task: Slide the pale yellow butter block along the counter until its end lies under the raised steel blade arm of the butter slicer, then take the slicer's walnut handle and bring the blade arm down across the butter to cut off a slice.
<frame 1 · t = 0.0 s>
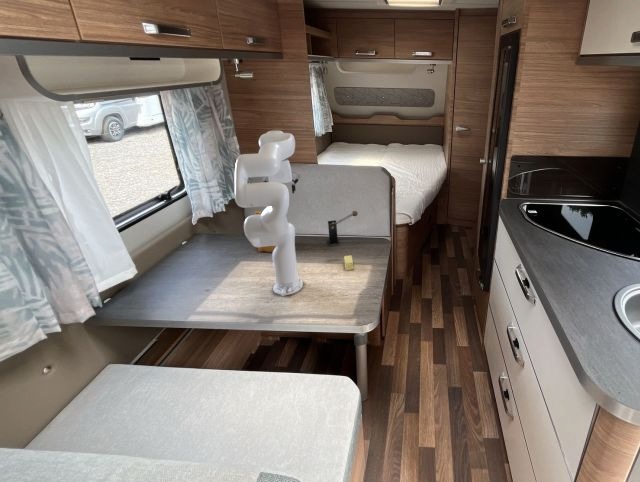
hand: (282, 193, 160), 37 cm above the table, tool pointing down, fingers open, 9 cm apart
butter: (348, 266, 168), on the table
slicer: (333, 242, 191), on the table
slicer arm: (343, 219, 188), point 14 cm above the table, hinge at 25.0°
coffee package: (270, 248, 184), on the table
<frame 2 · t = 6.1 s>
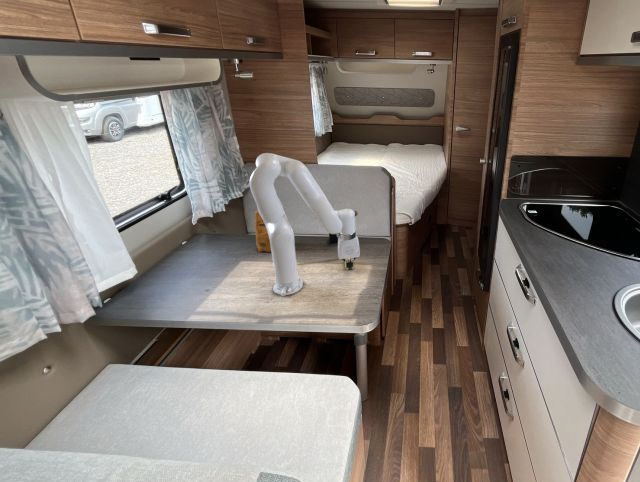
hand: (349, 268, 164), 1 cm above the table, tool pointing down, fingers closed
butter: (348, 265, 169), on the table, touching gripper
everything else where it was.
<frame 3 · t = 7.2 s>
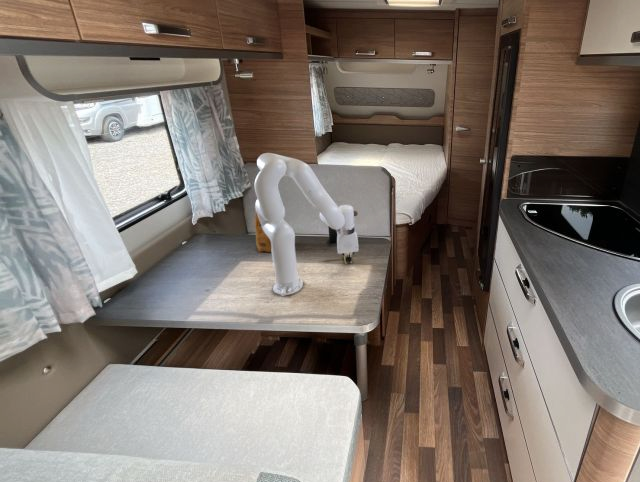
hand: (348, 262, 169), 1 cm above the table, tool pointing down, fingers closed
butter: (348, 260, 174), on the table, touching gripper
everything else where it was.
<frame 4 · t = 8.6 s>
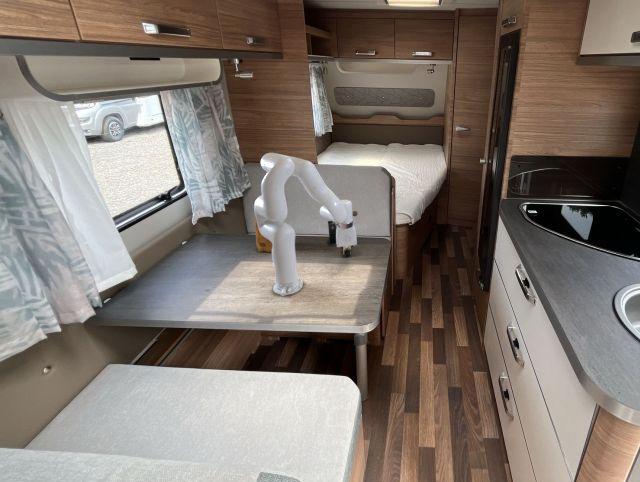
hand: (347, 255, 175), 1 cm above the table, tool pointing down, fingers closed
butter: (346, 253, 180), on the table, touching gripper
everything else where it was.
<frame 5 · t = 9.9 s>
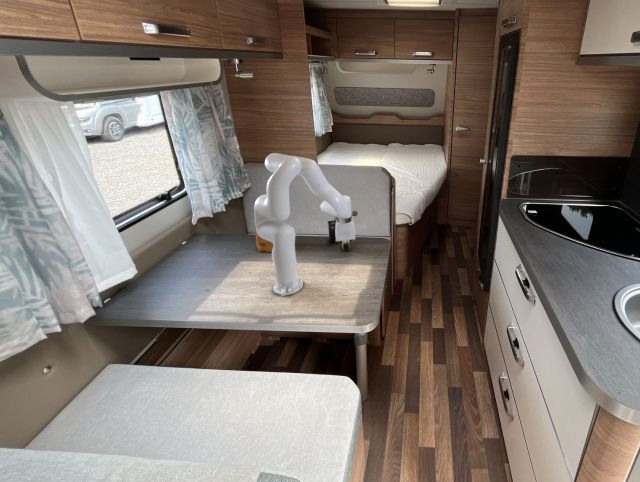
hand: (346, 249, 181), 1 cm above the table, tool pointing down, fingers closed
butter: (345, 247, 186), on the table
everything else where it was.
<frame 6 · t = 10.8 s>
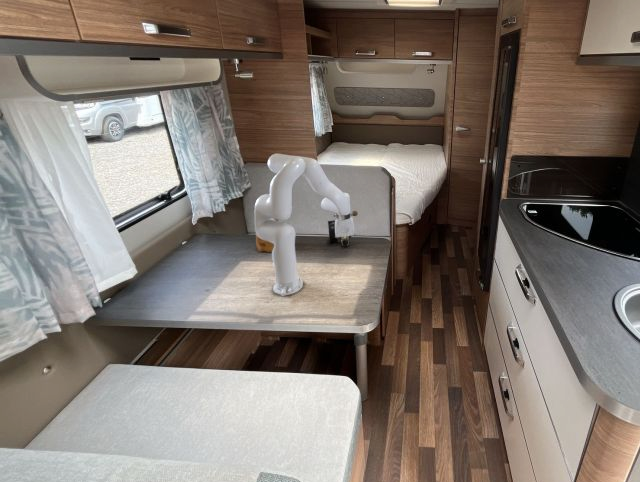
hand: (345, 246, 185), 1 cm above the table, tool pointing down, fingers closed
butter: (345, 244, 190), on the table, touching gripper
everything else where it was.
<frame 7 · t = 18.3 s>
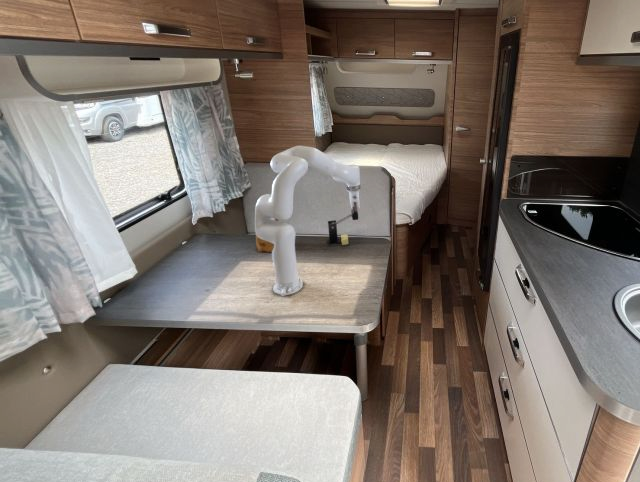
hand: (354, 217, 189), 14 cm above the table, tool pointing down, fingers closed on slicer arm, 3 cm apart
butter: (344, 243, 191), on the table
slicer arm: (343, 219, 188), point 14 cm above the table, hinge at 25.0°, touching gripper
everything else where it was.
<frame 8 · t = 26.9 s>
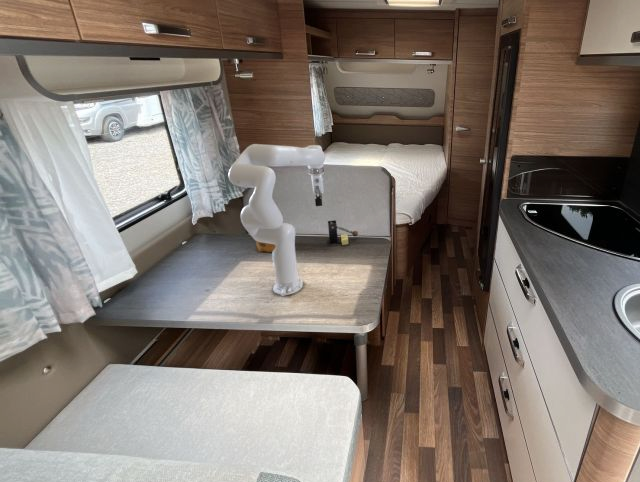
hand: (318, 202, 172), 28 cm above the table, tool pointing down, fingers open, 9 cm apart
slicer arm: (344, 229, 190), point 8 cm above the table, hinge at -28.4°
everything else where it was.
at the end: butter 0.6 cm from the target spot on the table beside the slicer, on the table; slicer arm at -28° (first picture: +25°) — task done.
